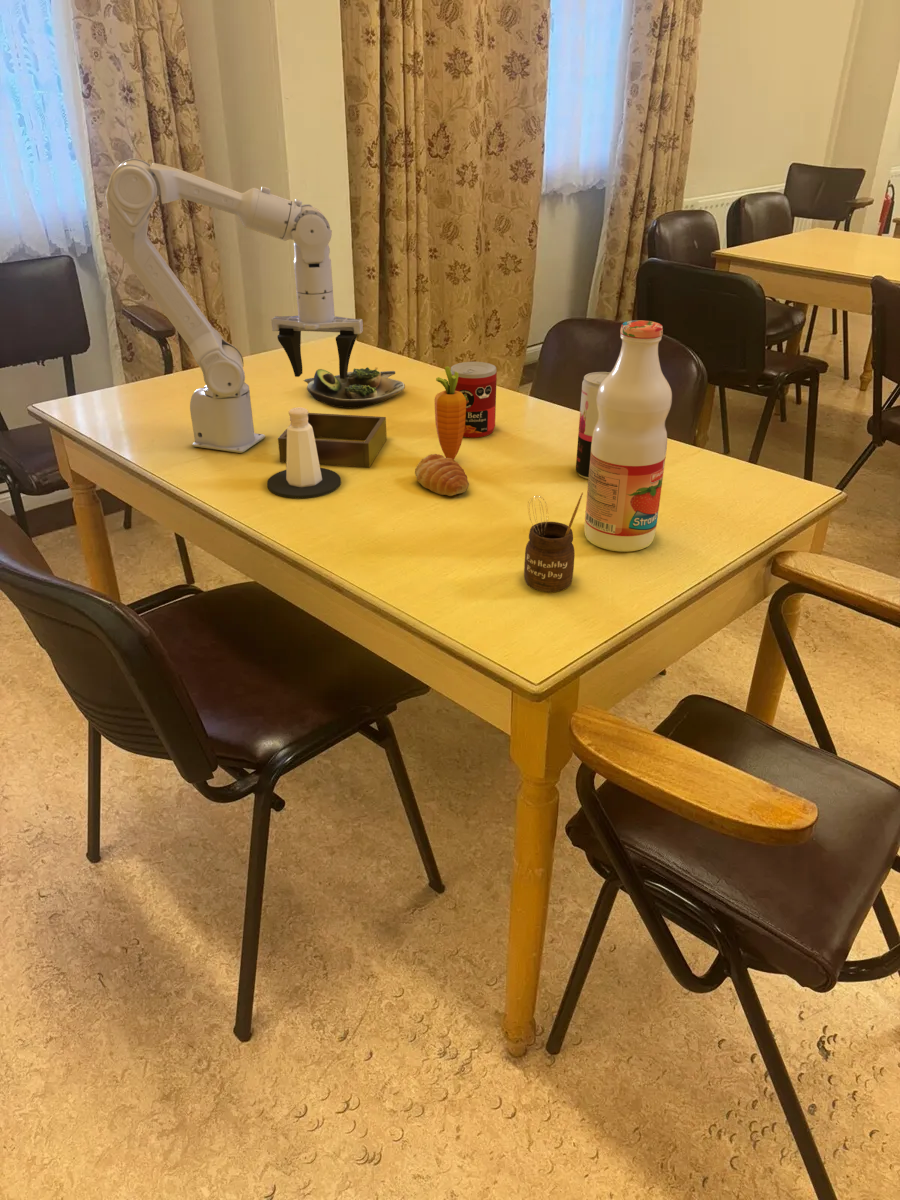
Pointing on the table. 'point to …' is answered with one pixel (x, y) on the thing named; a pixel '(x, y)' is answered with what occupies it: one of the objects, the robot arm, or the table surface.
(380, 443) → the rectangular frame
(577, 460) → the beverage can
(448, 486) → the pastry
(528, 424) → the table surface
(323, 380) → the salad plate
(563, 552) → the utensil holder
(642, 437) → the fruit juice
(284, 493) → the mat
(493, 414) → the canned food
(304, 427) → the salt shaker
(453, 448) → the carrot
